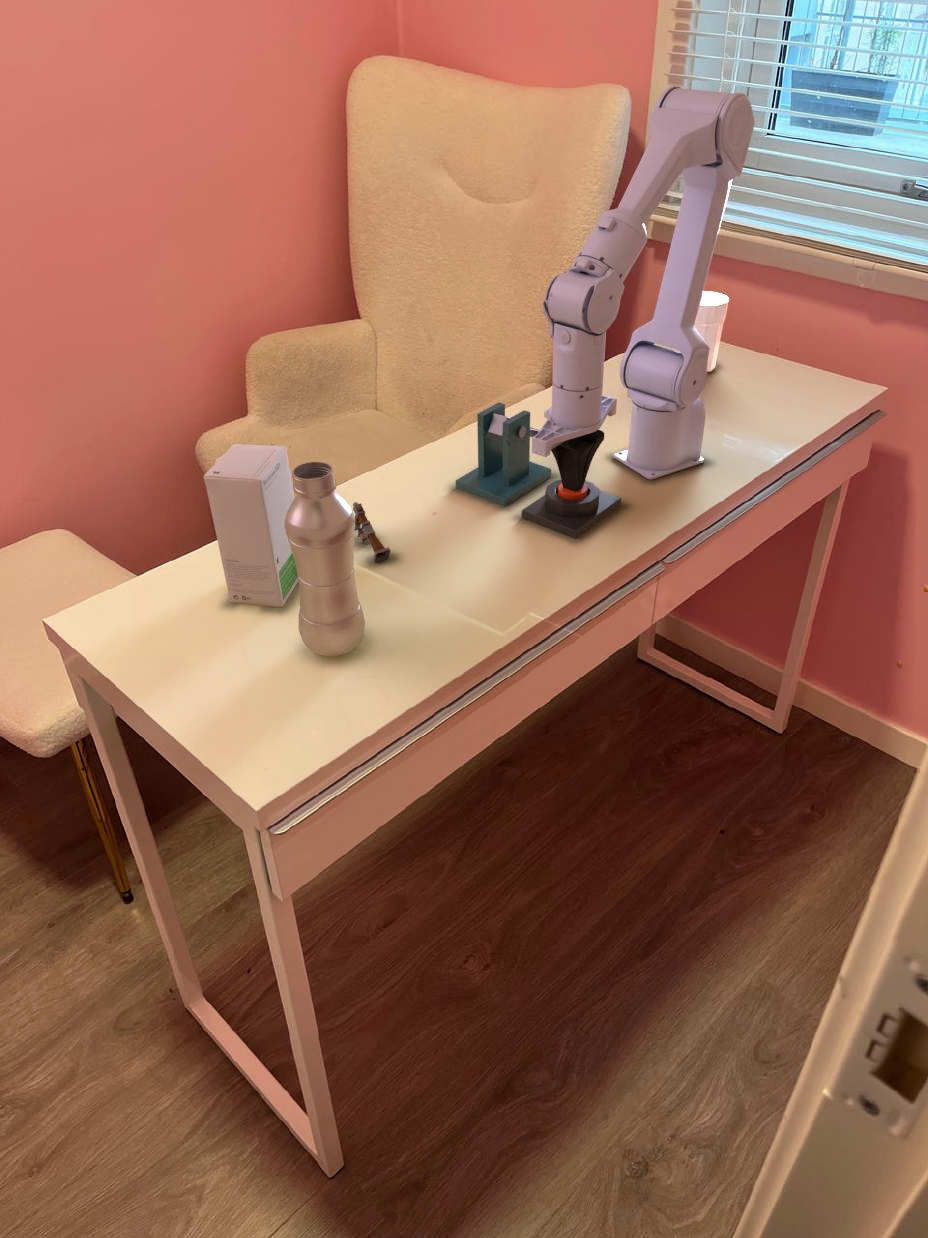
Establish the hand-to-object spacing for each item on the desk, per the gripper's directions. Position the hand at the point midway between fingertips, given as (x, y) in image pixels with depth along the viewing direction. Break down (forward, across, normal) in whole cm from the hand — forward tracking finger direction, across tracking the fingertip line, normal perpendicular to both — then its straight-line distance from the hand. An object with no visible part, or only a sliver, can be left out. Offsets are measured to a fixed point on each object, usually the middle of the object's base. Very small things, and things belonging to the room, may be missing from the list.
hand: (572, 487), depth 118 cm
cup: (+4, -51, -10) cm, 52 cm away
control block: (+3, 0, 0) cm, 3 cm away
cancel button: (+2, 0, 0) cm, 2 cm away
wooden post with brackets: (+4, +21, -14) cm, 26 cm away
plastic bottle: (+4, +37, -4) cm, 37 cm away
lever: (-2, -4, -11) cm, 12 cm away
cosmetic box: (+4, +34, -18) cm, 39 cm away
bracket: (+3, -1, -11) cm, 12 cm away
